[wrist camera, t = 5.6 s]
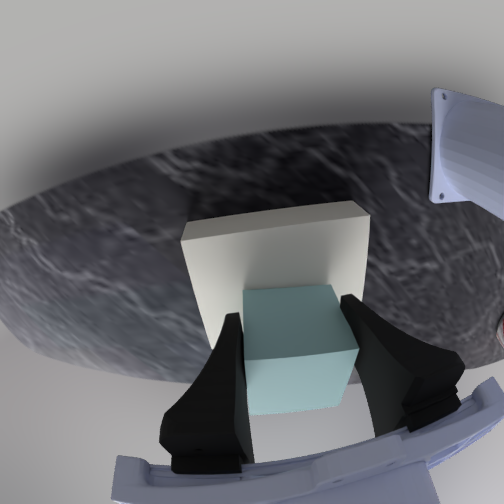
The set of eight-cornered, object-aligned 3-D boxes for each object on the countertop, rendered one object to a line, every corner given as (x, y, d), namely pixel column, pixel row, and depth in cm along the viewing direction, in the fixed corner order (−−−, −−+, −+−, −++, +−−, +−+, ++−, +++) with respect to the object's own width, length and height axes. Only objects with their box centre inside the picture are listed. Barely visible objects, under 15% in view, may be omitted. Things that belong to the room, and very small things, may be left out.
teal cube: (331, 284, 16) (359, 348, 11) (321, 344, 18) (338, 405, 14) (242, 290, 15) (244, 360, 11) (246, 350, 18) (249, 415, 13)
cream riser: (352, 200, 16) (370, 215, 14) (346, 303, 20) (357, 325, 18) (186, 222, 16) (180, 241, 14) (212, 323, 20) (211, 349, 18)
